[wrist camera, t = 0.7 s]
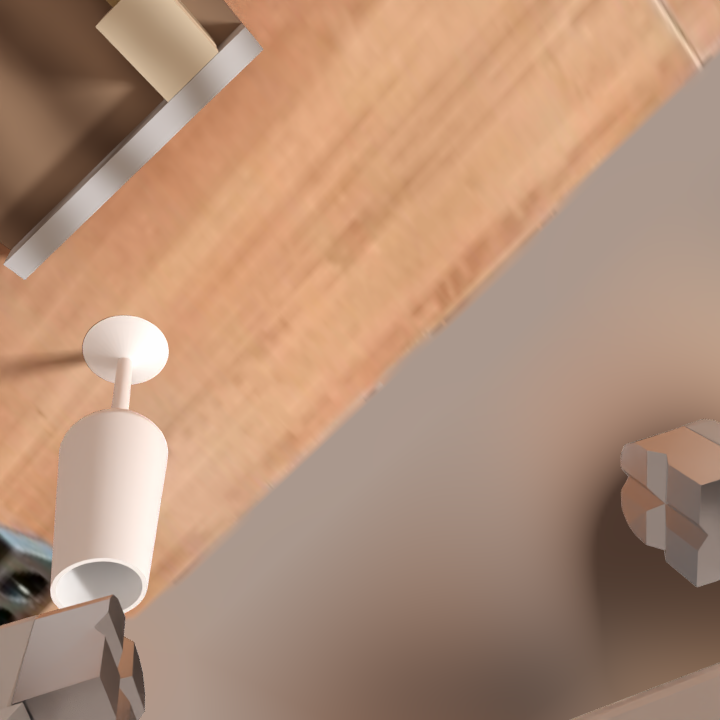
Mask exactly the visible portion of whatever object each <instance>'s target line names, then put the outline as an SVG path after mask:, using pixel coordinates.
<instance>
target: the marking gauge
mask: <svg viewBox="0 0 720 720" xmlns="http://www.w3.org/2000/svg"><path fill="white" fill-rule="evenodd" d="M106 1H107V2H108V3H109V4H110V5H111V6H112V7H113V8H112V9H111V10H110V11H109V12H108V13H107V14H106V15H105V16H104V17H103V18H102V19H101V21H100V22H99V23H98V24H97V25H96V26H95V27H96V28H97V29H98V30H99V31H100V32H101V33H102V34H103V35H104V36H105V37H106V38H107V39H108V40H109V42H110V43H111V44H112V45H113V46H114V47H115V48H116V49H117V50H118V51H119V52H120V53H121V54H122V55H123V56H124V57H125V58H126V59H127V60H128V61H129V62H130V63H131V64H132V65H133V66H134V67H135V68H136V70H137V71H138V72H139V73H140V74H141V75H142V76H143V77H144V78H145V79H146V80H147V81H148V82H149V83H150V84H151V85H152V86H153V87H154V88H155V89H156V90H157V91H158V92H159V93H160V94H161V95H162V96H163V98H164V99H165V100H166V101H167V102H169V101H170V100H171V99H172V98H173V97H174V96H175V95H176V94H177V93H178V92H179V91H180V90H181V89H182V88H183V87H184V86H185V85H186V84H187V83H188V82H189V81H190V80H191V79H192V78H193V77H194V76H195V75H196V74H197V73H198V72H199V71H200V70H201V69H202V68H203V67H204V66H205V65H206V64H207V63H208V62H209V61H210V60H211V59H212V58H213V57H214V56H215V55H216V54H217V53H218V49H217V47H216V44H215V42H214V39H213V38H212V37H211V35H210V34H209V33H208V32H207V31H206V30H205V28H204V27H203V26H202V25H201V24H200V23H199V21H198V20H197V19H196V18H195V17H194V16H193V14H192V13H191V12H190V11H189V10H188V9H187V7H186V6H185V5H184V4H183V3H182V2H181V0H106Z"/></svg>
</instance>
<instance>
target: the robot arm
mask: <svg viewBox="0 0 720 720" xmlns="http://www.w3.org/2000/svg"><path fill="white" fill-rule="evenodd" d="M621 468H622V469H623V471H624V472H625V473H626V474H627V475H628V476H629V477H628V479H627V481H626V483H625V485H624V486H623V488H622V490H621V502H622V510H623V513H624V515H625V518H626V520H627V523H628V525H629V526H630V528H631V529H632V531H633V532H634V534H635V535H636V536H637V537H638V538H639V539H641V540H642V541H643V542H644V543H645V544H646V545H649V546H652V547H656V548H659V549H662V550H665V558H666V562H667V563H669V564H670V565H671V566H672V567H673V568H674V569H676V570H677V571H678V572H679V573H680V574H682V575H683V576H684V577H685V578H686V579H688V580H689V581H690V582H691V583H692V584H694V585H695V586H696V587H699V586H702V585H705V584H708V583H711V582H715V581H718V580H720V423H719V422H717V421H715V420H709V419H701V420H698V421H695V422H692V423H689V424H687V425H684V426H680V427H678V428H677V429H673V430H670V431H667V432H664V433H661V434H657V435H654V436H651V437H648V438H644V439H641V440H638V441H635V442H632V443H628V444H625V445H624V447H623V450H622V453H621ZM124 628H125V615H124V613H123V610H122V607H121V605H120V602H119V600H118V598H117V597H116V596H115V595H109V596H105V597H102V598H98V599H94V600H91V601H87V602H83V603H80V604H76V605H72V606H69V607H65V608H61V609H58V610H54V611H50V612H47V613H43V614H40V615H39V616H32V617H29V618H25V619H22V620H19V621H15V622H12V623H9V624H5V625H2V626H1V627H0V720H139V719H140V717H141V716H142V714H143V713H144V712H145V689H144V680H143V672H142V667H141V663H140V659H139V655H138V652H137V649H136V646H135V643H134V642H133V641H131V640H129V639H128V638H126V637H124ZM571 720H720V663H717V664H715V665H712V666H709V667H707V668H704V669H701V670H699V671H696V672H694V673H691V674H689V675H686V676H683V677H681V678H678V679H675V680H673V681H670V682H667V683H665V684H662V685H659V686H657V687H654V688H651V689H649V690H647V691H644V692H641V693H638V694H636V695H633V696H631V697H628V698H625V699H623V700H620V701H618V702H615V703H612V704H610V705H607V706H605V707H602V708H599V709H597V710H594V711H592V712H589V713H587V714H584V715H581V716H579V717H576V718H573V719H571Z"/></svg>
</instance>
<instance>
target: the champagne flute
mask: <svg viewBox="0 0 720 720" xmlns="http://www.w3.org/2000/svg"><path fill="white" fill-rule="evenodd" d="M168 352H169V349H168V344H167V341H166V339H165V336H164V335H163V334H162V332H161V331H160V330H159V329H158V328H157V327H156V326H155V325H153V324H152V323H150V322H149V321H147V320H144V319H142V318H139V317H134V316H125V315H121V316H113V317H110V318H106V319H104V320H102V321H100V322H98V323H97V324H96V325H94V326H93V327H92V328H91V329H90V330H89V332H88V333H87V335H86V337H85V339H84V342H83V355H84V359H85V361H86V363H87V365H88V367H89V368H90V369H91V370H92V371H93V372H94V373H95V374H96V375H98V376H99V377H101V378H103V379H104V380H106V381H109V382H112V383H115V384H114V392H113V400H112V407H111V409H104V410H100V411H97V412H93V413H91V414H89V415H87V416H85V417H83V418H82V419H80V420H79V421H78V422H76V423H75V424H74V425H72V427H71V428H70V429H69V430H68V431H67V433H66V434H65V436H64V438H63V440H62V442H61V445H60V450H59V463H58V479H57V494H56V510H55V525H54V541H53V557H52V572H51V588H50V591H51V597H52V600H53V602H54V603H55V604H56V606H57V607H58V608H59V609H61V608H65V607H69V606H72V605H76V604H80V603H83V602H87V601H91V600H94V599H98V598H102V597H105V596H109V595H115V596H116V597H117V598H118V600H119V602H120V605H121V607H122V610H123V613H126V612H128V611H130V610H131V609H133V608H134V607H136V606H137V605H138V604H139V603H140V602H141V601H142V599H143V598H144V596H145V594H146V591H147V587H148V581H149V574H150V568H151V562H152V555H153V549H154V542H155V536H156V530H157V523H158V517H159V510H160V504H161V497H162V491H163V485H164V478H165V472H166V465H167V459H168V447H167V443H166V440H165V437H164V435H163V433H162V432H161V430H160V429H159V428H158V427H157V426H156V425H155V424H154V423H153V422H152V421H151V420H149V419H148V418H147V417H145V416H143V415H141V414H139V413H137V412H134V411H131V410H129V399H130V388H131V385H132V384H139V383H142V382H145V381H148V380H150V379H152V378H153V377H155V376H156V375H157V374H159V372H160V371H161V370H162V369H163V368H164V366H165V364H166V362H167V359H168Z"/></svg>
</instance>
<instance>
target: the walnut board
mask: <svg viewBox="0 0 720 720" xmlns="http://www.w3.org/2000/svg"><path fill="white" fill-rule="evenodd" d="M181 2H182V3H183V4H184V5H185V6H186V7H187V9H188V10H189V11H190V12H191V13H192V14H193V16H194V17H195V18H196V19H197V20H198V21H199V23H200V24H201V25H202V26H203V27H204V28H205V30H206V31H207V32H208V33H209V34H210V35H211V37H212V38H213V39H214V42H215V44H216V47H217V49H218V53H217V54H216V55H215V56H214V57H213V58H212V59H211V60H210V61H209V62H208V63H207V64H206V65H205V66H204V67H203V68H202V69H201V70H200V71H199V72H198V73H197V74H196V75H195V76H194V77H193V78H192V79H191V80H190V81H189V82H188V83H187V84H186V85H185V86H184V87H183V88H182V89H181V90H180V91H179V92H178V93H177V94H176V95H175V96H174V97H173V98H172V99H171V100H170V101H169V102H167V101H166V100H165V99H164V98H163V96H162V95H161V94H160V93H159V92H158V91H157V90H156V89H155V88H154V87H153V86H152V85H151V84H150V83H149V82H148V81H147V80H146V79H145V78H144V77H143V76H142V75H141V74H140V73H139V72H138V71H137V70H136V68H135V67H134V66H133V65H132V64H131V63H130V62H129V61H128V60H127V59H126V58H125V57H124V56H123V55H122V54H121V53H120V52H119V51H118V50H117V49H116V48H115V47H114V46H113V45H112V44H111V43H110V42H109V40H108V39H107V38H106V37H105V36H104V35H103V34H102V33H101V32H100V31H99V30H98V29H97V28H96V27H95V26H96V25H97V24H98V23H99V22H100V21H101V19H102V18H103V17H104V16H105V15H106V14H107V13H108V12H109V11H110V10H111V9H112V8H113V7H112V6H111V5H110V4H109V3H108V2H107V1H106V0H0V243H2V244H3V245H4V246H6V247H7V248H8V249H10V250H11V251H10V253H9V255H8V257H7V259H6V260H5V262H4V265H5V266H6V267H8V268H9V269H10V270H12V271H13V272H15V273H16V274H17V275H19V276H20V277H21V278H23V279H24V280H25V279H26V278H27V277H28V276H29V275H31V274H32V273H33V272H34V271H35V270H36V269H37V268H38V267H39V266H40V265H41V264H42V263H43V262H44V261H45V260H46V259H47V258H48V257H49V256H50V255H51V254H52V253H53V252H54V251H55V250H56V249H57V248H58V247H59V246H61V245H62V244H63V243H64V242H65V241H66V240H67V239H68V238H69V237H70V236H71V235H72V234H73V233H74V232H75V231H76V230H77V229H78V228H79V227H80V226H81V225H82V224H83V223H84V222H85V221H86V220H87V219H88V218H90V217H91V216H92V215H93V214H94V213H95V212H96V211H97V210H98V209H99V208H100V207H101V206H102V205H103V204H104V203H105V202H106V201H107V200H108V199H109V198H110V197H111V196H112V195H113V194H114V193H115V192H116V191H117V190H118V189H120V188H121V187H122V186H123V185H124V184H125V183H126V182H127V181H128V180H129V179H130V178H131V177H132V176H133V175H134V174H135V173H136V172H137V171H138V170H139V169H140V168H141V167H142V166H143V165H144V164H145V163H146V162H147V161H148V160H150V159H151V158H152V157H153V156H154V155H155V154H156V153H157V152H158V151H159V150H160V149H161V148H162V147H163V146H164V145H165V144H166V143H167V142H168V141H169V140H170V139H171V138H172V137H173V136H174V135H175V134H176V133H177V132H178V131H180V130H181V129H182V128H183V127H184V126H185V125H186V124H187V123H188V122H189V121H190V120H191V119H192V118H193V117H194V116H195V115H196V114H197V113H198V112H199V111H200V110H201V109H202V108H203V107H204V106H205V105H206V104H207V103H208V102H210V101H211V100H212V99H213V98H214V97H215V96H216V95H217V94H218V93H219V92H220V91H221V90H222V89H223V88H224V87H225V86H226V85H227V84H228V83H229V82H230V81H231V80H232V79H233V78H234V77H235V76H236V75H237V74H238V73H240V72H241V71H242V70H243V69H244V68H245V67H246V66H247V65H248V64H249V63H250V62H251V61H252V60H253V59H254V58H255V57H256V56H257V55H258V54H259V53H260V52H261V51H262V50H263V48H262V47H261V46H260V44H259V43H258V42H257V41H256V39H255V38H254V37H253V36H252V34H251V33H250V32H249V31H248V30H247V28H246V27H245V26H244V25H243V23H242V22H241V21H240V20H239V19H238V17H237V16H236V15H235V14H234V12H233V11H232V10H231V9H230V8H229V6H228V5H227V4H226V3H225V1H224V0H181Z"/></svg>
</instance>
